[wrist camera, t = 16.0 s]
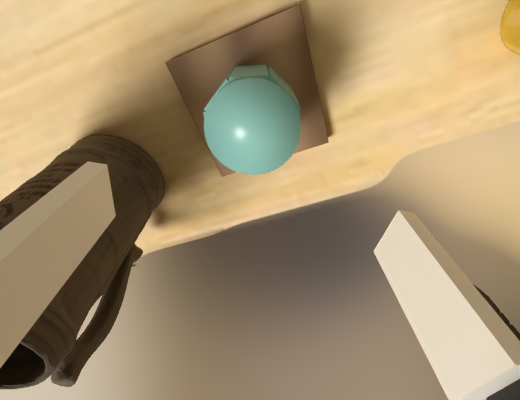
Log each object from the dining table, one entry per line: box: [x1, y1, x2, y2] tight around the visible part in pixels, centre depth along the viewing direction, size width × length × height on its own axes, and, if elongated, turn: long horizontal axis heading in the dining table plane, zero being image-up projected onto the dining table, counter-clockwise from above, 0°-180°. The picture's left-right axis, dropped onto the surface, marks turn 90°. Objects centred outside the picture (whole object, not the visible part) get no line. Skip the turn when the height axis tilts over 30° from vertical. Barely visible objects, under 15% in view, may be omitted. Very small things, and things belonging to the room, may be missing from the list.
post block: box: [165, 5, 328, 176], centre depth 22 cm, size 12×12×7 cm
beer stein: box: [0, 135, 164, 389], centre depth 23 cm, size 15×11×20 cm
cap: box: [203, 64, 301, 174], centre depth 21 cm, size 7×7×7 cm
